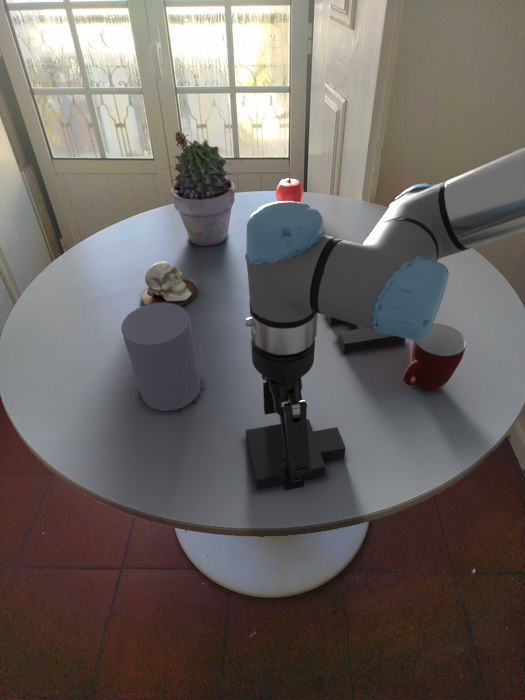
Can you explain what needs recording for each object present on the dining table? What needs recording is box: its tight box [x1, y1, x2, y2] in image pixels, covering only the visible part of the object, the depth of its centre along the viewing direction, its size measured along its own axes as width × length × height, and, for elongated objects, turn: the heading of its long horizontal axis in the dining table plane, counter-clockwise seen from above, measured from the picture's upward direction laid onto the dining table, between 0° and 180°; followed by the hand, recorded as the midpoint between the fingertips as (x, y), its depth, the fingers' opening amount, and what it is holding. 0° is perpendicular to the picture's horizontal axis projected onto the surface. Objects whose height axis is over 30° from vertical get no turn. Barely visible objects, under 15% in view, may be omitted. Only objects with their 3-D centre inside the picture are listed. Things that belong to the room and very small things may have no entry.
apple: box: [275, 177, 305, 203], centre depth 132 cm, size 8×8×8 cm
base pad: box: [324, 315, 407, 355], centre depth 91 cm, size 12×12×2 cm
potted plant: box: [159, 130, 240, 247], centre depth 114 cm, size 18×20×25 cm
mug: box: [402, 323, 467, 392], centre depth 77 cm, size 10×8×10 cm
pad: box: [245, 418, 346, 490], centre depth 70 cm, size 9×14×2 cm, turn 101°
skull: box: [141, 261, 198, 307], centre depth 102 cm, size 12×10×10 cm
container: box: [121, 303, 202, 412], centre depth 77 cm, size 10×10×15 cm
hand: (282, 446), depth 69 cm, fingers open, 13 cm apart
